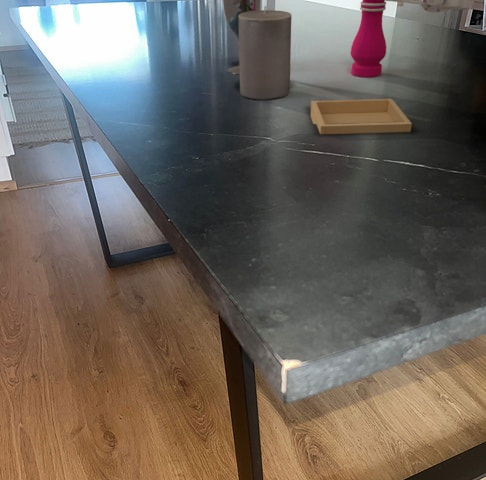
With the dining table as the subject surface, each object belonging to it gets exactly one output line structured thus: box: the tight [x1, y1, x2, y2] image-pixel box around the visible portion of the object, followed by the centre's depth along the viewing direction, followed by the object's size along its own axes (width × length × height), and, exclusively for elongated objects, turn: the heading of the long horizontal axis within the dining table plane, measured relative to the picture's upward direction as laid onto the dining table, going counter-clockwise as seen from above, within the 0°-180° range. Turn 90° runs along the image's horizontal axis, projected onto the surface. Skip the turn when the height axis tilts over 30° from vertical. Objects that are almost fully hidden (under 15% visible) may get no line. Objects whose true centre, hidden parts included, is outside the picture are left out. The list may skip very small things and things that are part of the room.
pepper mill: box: [350, 0, 387, 78], centre depth 106 cm, size 7×7×20 cm
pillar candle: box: [238, 5, 292, 101], centre depth 98 cm, size 10×10×15 cm
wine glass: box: [222, 0, 262, 75], centre depth 112 cm, size 8×8×15 cm
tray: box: [310, 98, 413, 135], centre depth 84 cm, size 14×13×3 cm
